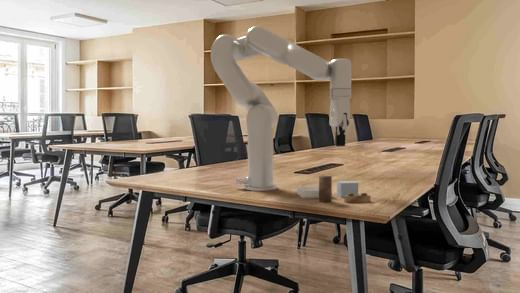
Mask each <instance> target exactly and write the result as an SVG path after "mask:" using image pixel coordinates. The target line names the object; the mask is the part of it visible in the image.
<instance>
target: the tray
mask: <svg viewBox="0 0 520 293" xmlns="http://www.w3.org/2000/svg"><path fill="white" fill-rule="evenodd" d="M296 194H297V195H298V196H299V197H300V198H302V199H304V200H305V199H306V200H307V199H319V185H297V186H296ZM332 198H333V195H332V196H331V199H332Z"/></svg>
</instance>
